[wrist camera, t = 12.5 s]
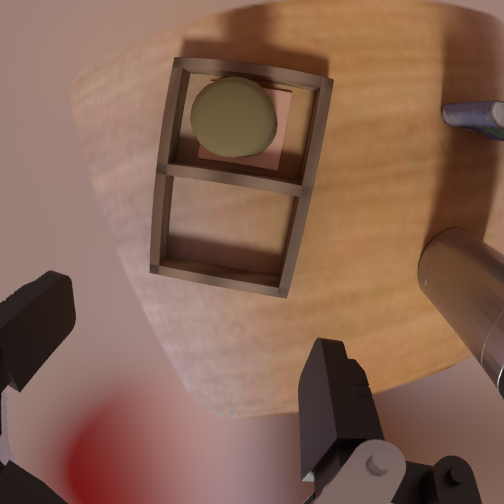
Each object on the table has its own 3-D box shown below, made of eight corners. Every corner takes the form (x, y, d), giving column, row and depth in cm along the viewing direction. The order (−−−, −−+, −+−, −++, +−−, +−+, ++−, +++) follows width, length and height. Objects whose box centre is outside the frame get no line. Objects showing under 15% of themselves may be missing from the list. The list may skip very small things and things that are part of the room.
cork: (211, 96, 25) (176, 70, 14) (276, 93, 24) (282, 63, 14) (213, 157, 27) (179, 168, 16) (278, 156, 26) (284, 165, 16)
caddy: (328, 84, 24) (333, 79, 21) (285, 286, 31) (286, 298, 29) (182, 63, 24) (174, 57, 21) (157, 263, 31) (149, 272, 29)
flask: (439, 123, 24) (506, 123, 14) (440, 97, 23) (505, 88, 13) (496, 143, 24) (559, 153, 14) (497, 119, 22) (559, 124, 12)
